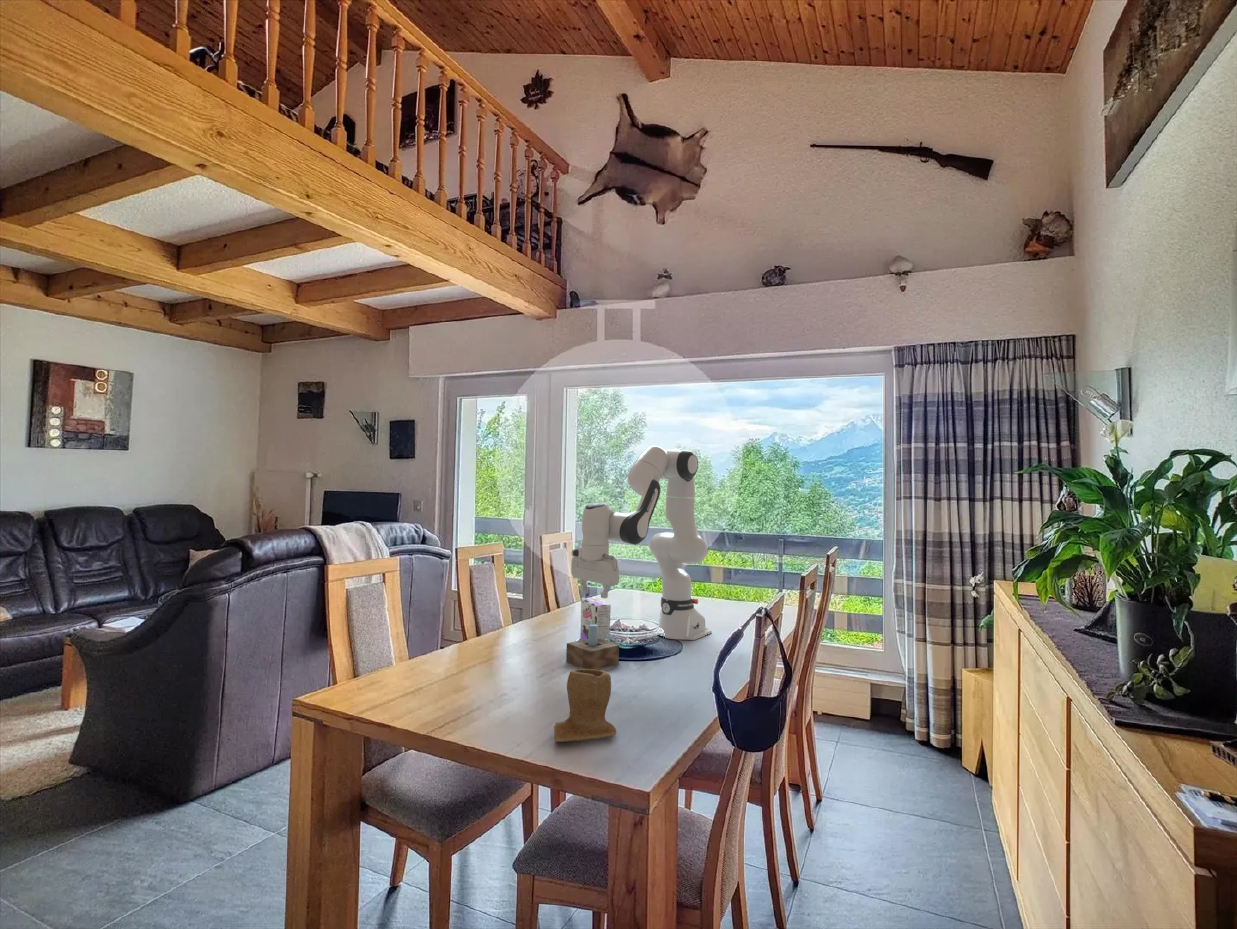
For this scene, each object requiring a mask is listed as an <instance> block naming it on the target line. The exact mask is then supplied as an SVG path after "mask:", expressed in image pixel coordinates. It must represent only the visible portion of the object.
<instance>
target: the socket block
mask: <svg viewBox="0 0 1237 929" xmlns="http://www.w3.org/2000/svg"><path fill="white" fill-rule="evenodd" d="M619 656H620V645H619V644H617V643H613V642H611V641H609V642H608V641H605V640H602V639H597V646H594V647H591V646H588V639H585V640H577V641H571V642H570V641H569V642H567V643H566V657H565V662H566V663H567V664H571V665H573V666H576V667H578V668H580V669H596V670H601V669H603V668H607V667H608V668H609V667H611V665H612V666H615V665H619V660H620V659H619V658H620V657H619Z"/></svg>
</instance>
